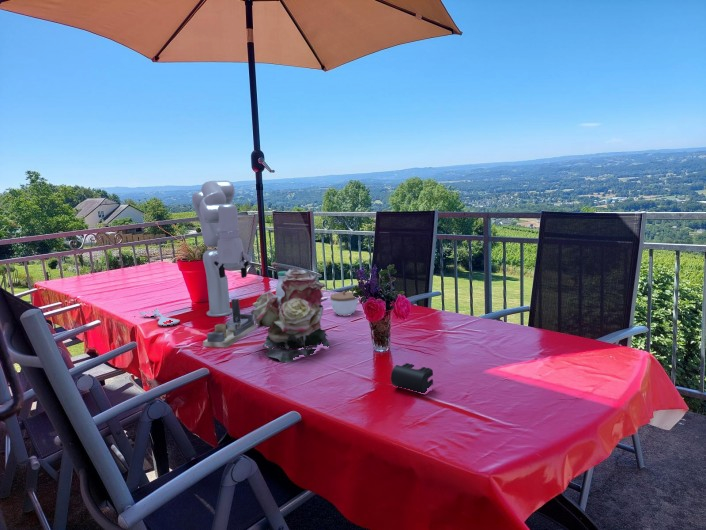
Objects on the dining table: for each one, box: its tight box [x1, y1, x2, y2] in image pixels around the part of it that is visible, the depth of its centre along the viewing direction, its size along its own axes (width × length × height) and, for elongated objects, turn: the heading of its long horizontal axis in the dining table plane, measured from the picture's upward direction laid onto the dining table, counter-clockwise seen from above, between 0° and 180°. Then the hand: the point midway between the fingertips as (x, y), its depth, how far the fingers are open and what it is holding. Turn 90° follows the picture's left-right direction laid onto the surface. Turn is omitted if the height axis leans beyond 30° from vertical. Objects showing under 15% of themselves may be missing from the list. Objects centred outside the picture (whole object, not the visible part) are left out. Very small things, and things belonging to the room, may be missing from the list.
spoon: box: [138, 307, 181, 327], centre depth 214 cm, size 9×32×3 cm, turn 43°
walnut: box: [214, 323, 227, 338], centre depth 177 cm, size 4×4×5 cm
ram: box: [225, 298, 248, 331], centre depth 188 cm, size 7×8×12 cm
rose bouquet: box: [250, 267, 330, 363], centre depth 164 cm, size 26×29×30 cm
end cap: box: [390, 362, 434, 393], centre depth 128 cm, size 10×7×7 cm
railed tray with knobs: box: [202, 313, 257, 348], centre depth 184 cm, size 10×25×6 cm, turn 166°
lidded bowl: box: [330, 290, 359, 315], centre depth 210 cm, size 13×13×11 cm
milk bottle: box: [275, 270, 288, 297], centre depth 217 cm, size 8×8×20 cm
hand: (233, 277), depth 186 cm, fingers open, 9 cm apart
